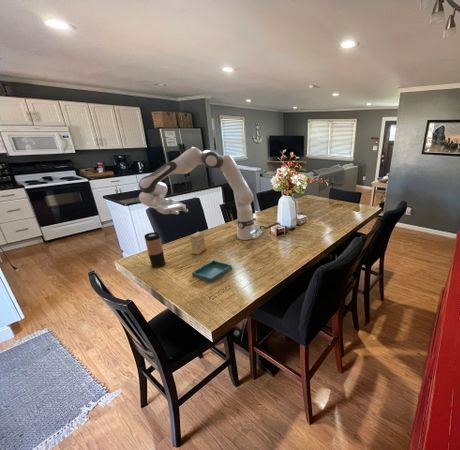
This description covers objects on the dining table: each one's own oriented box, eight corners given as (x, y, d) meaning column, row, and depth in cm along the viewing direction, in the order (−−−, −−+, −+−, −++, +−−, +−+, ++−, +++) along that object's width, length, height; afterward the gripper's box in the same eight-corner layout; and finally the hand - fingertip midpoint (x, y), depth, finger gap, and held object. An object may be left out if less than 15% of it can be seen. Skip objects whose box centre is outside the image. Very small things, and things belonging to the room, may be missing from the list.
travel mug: (149, 265, 145) (142, 234, 138) (163, 260, 150) (156, 231, 143) (153, 269, 140) (146, 238, 133) (167, 264, 145) (161, 234, 138)
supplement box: (198, 254, 158) (196, 236, 153) (192, 254, 159) (189, 236, 154) (205, 249, 166) (203, 232, 161) (199, 248, 166) (197, 231, 162)
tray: (213, 263, 147) (213, 260, 146) (232, 268, 141) (231, 265, 140) (192, 276, 133) (192, 272, 132) (211, 282, 128) (211, 278, 127)
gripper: (152, 202, 144) (172, 209, 143) (175, 198, 163) (193, 205, 162) (150, 211, 145) (171, 219, 144) (173, 207, 165) (191, 214, 164)
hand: (183, 212), depth 153 cm, fingers open, 8 cm apart
